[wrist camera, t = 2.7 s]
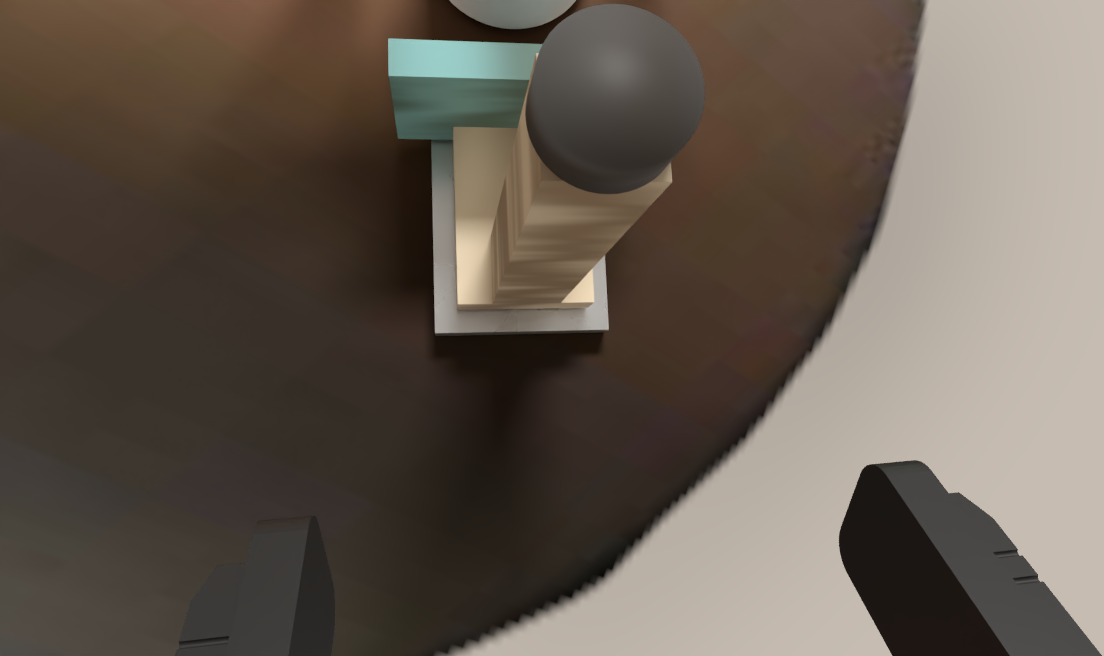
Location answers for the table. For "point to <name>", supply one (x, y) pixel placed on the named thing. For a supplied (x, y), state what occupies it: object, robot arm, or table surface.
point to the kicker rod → (550, 145)
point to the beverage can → (513, 11)
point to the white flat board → (493, 319)
